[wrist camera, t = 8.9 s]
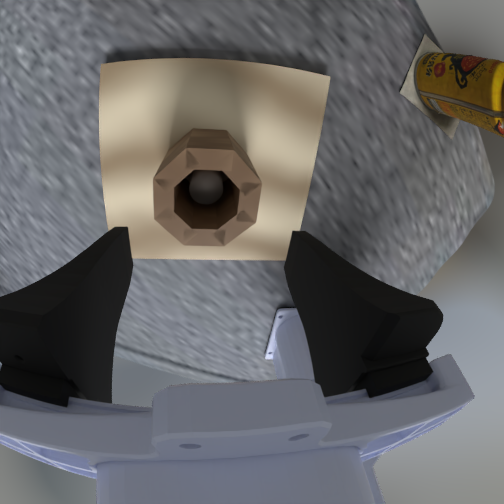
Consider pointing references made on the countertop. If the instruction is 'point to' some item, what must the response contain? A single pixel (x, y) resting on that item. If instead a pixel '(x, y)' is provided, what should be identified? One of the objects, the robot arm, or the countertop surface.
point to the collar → (206, 215)
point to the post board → (208, 117)
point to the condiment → (456, 89)
